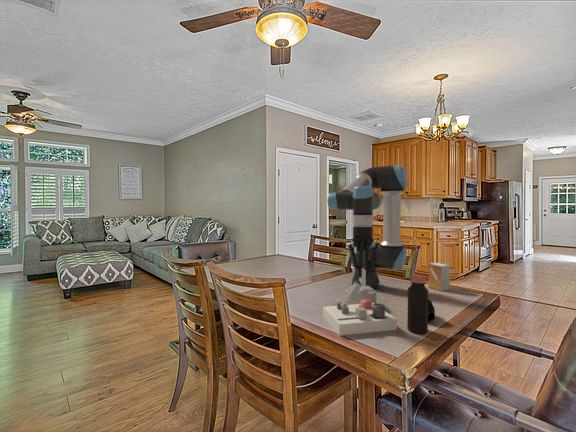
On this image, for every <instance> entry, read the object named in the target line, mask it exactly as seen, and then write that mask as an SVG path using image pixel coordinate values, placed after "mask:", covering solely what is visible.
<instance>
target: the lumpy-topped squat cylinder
mask: <svg viewBox="0 0 576 432" xmlns="http://www.w3.org/2000/svg"><path fill="white" fill-rule="evenodd" d="M351 287H352V285H351V286H349V287H348V288H345V296H346V295H347V293H348V292H349V290H350V289H351ZM363 299H368V300H371V301H372V303H374V304H377V291H376V290H374V289H373V288H371V287H370V286H365V287H362V286H360V287H359V289H358V290H357V292H356V293H355V295H354V297H353V298H352V300H351V301H350V303H349V304H348V305H352V304H361V300H363Z"/></svg>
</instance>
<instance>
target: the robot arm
mask: <svg viewBox="0 0 576 432" xmlns="http://www.w3.org/2000/svg"><path fill="white" fill-rule="evenodd" d="M407 188H408V174H407V171H406V168H405V167H404V166H403V165H399V164H398V165H397V164H395V165H382V166H381V165H380V166H372V167H369V168H366V169H364V170H362V171H360V172H359V173H357V174H356V175H355V177H354V178H353V180H352V181H351V182H349V183H348V184H347V185H346V186H345V187H343V188H342V189H341V190H340V191H338V192H330V193H329V194H328V196H327V199H326V200H327V201H326V202H327V207H328V208H329V209H331V210H337V211H339V210H340V211H341V210H342V211H343V210H347V211H350V210H351V211H352V225H353V227H352V239H351V242H349V243H346V244H345V246H346V247H347V249H348V252H349V256H350V261H351V266H352V267H353V268H354V272H353V275H352V278H351V286H352V285H353V284H354V282H356V281H357V280H358V281H360V282H361V286H362V287H365V286H370V287H371V288H373V290H374V289H378V288H380V287H381V282H380V279H379V276H378V272H377V271H378V270H377V269H383V270H392V271H401V270H403V269H404V268H405V265H406V260H407V255H408V249H407V248H406V247H404V243H403V242H402V241H401V213H402V212H401V210H402V209H401V208H402V201H401V200H402V198H401V197H402V194H403V193H405V189H407ZM375 189H377V190H379V191H380V193H381V194H382V196H383V200H382V197H381V195H380V194H379V193H377V192H375V191H374V190H375ZM382 202H383V205H382ZM381 205H382V206H383V207H382V208H383V209H382V210H383V211H382V217H383V218H382V219H383V220H382V231H383V232H382V241H381V242H380V243H377V242H375V240H374V238H373V234H374V233H373V232H374V230H373V229H374V228H373V226H372V225H373V224H374V222H373V220H374V216H373V215H374V214H373V213H374V211H375V210H377V209H379V208H380V206H381Z"/></svg>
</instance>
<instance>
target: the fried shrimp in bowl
mask: <svg viewBox="0 0 576 432" xmlns="http://www.w3.org/2000/svg"><path fill="white" fill-rule="evenodd" d="M435 312H436V311H435V307H434V305H433V302H432V301H431V299H429V298H428V322H432V321H434V320H435V318H436V313H435Z"/></svg>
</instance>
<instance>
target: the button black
mask: <svg viewBox="0 0 576 432" xmlns="http://www.w3.org/2000/svg"><path fill="white" fill-rule="evenodd" d="M385 311H386V306H385V304H382V303H376V304H373V318H374V319H385Z"/></svg>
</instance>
